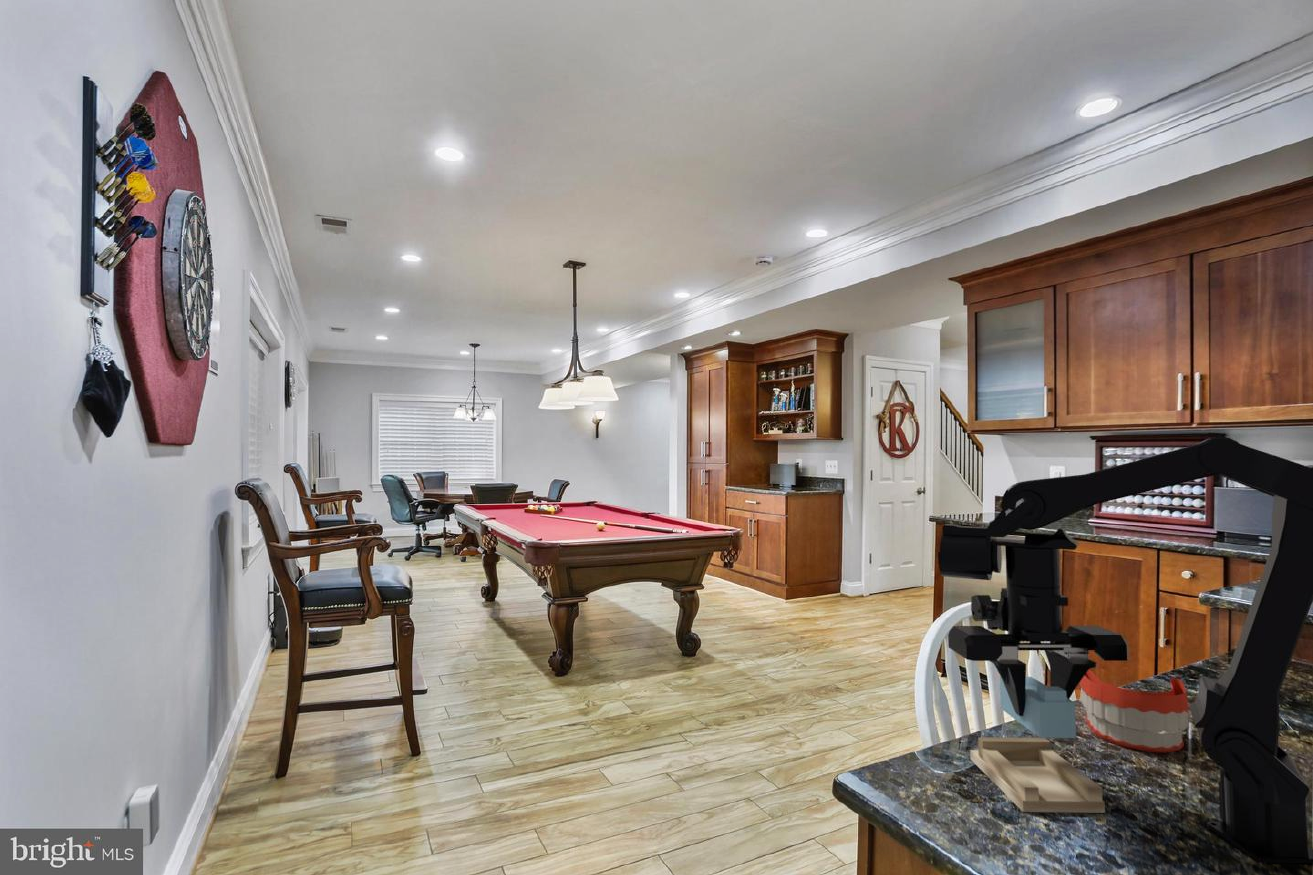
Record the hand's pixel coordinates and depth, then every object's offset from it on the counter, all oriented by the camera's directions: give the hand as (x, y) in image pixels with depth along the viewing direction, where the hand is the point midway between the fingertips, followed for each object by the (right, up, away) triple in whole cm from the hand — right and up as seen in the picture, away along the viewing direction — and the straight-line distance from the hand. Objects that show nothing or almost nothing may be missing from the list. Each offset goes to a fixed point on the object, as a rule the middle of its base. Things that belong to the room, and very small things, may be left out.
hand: (1037, 714), depth 78 cm
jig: (0, -9, +1) cm, 9 cm away
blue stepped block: (0, -1, 0) cm, 1 cm away
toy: (+22, -10, +13) cm, 27 cm away
